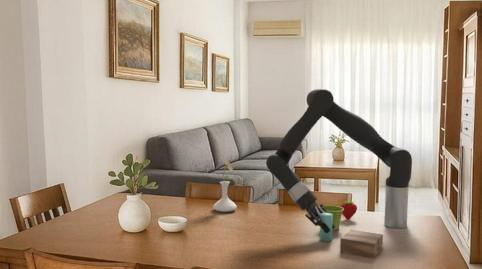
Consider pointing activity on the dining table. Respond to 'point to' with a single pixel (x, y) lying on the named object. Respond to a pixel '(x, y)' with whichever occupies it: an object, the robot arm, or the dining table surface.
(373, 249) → the walnut base
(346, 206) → the strawberry
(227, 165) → the flower in vase
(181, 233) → the dining table surface
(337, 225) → the plant pot
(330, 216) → the teal post
